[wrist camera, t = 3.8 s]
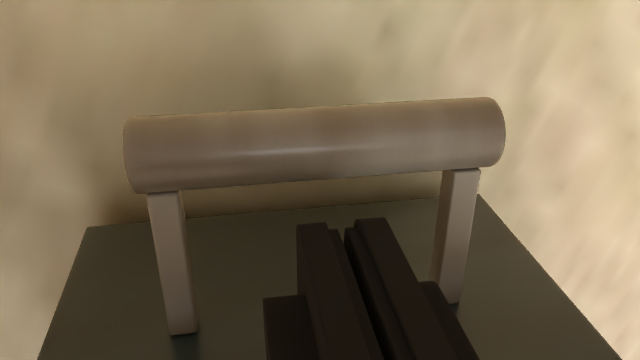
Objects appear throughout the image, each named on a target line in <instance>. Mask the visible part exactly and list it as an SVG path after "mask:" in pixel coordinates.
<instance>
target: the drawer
mask: <svg viewBox="0 0 640 360" xmlns="http://www.w3.org/2000/svg"><path fill="white" fill-rule="evenodd" d="M504 146H505V122H504V117H503V114H502V111H501V109H500V107H499V105H498V104H497V102H496V101H495V100H493V99H491V98H488V97H478V98H461V99H443V100H425V101H407V102H390V103H372V104H354V105H336V106H319V107H301V108H283V109H265V110H248V111H230V112H212V113H195V114H177V115H159V116H141V117H130V118H128V119H126V121H125V124H124V129H123V158H124V166H125V172H126V177H127V180H128V183H129V186H130V188H131V190H132V191H133V192H134V193H137V194H141V193H147V197H146V198H147V204H148V210H149V216H150V222H141V223H129V224H118V225H106V226H94V227H87V229H86V232H85V234H84V237H83V240H82V242H81V245H80V248H79V250H78V253H77V255H76V258H75V261H74V263H73V266H72V269H71V271H70V274H69V277H68V279H67V282H66V285H65V287H64V290H63V292H62V295H61V298H60V300H59V303H58V306H57V308H56V311H55V314H54V316H53V319H52V321H51V324H50V327H49V329H48V332H47V335H46V337H45V340H44V343H43V345H42V348H41V351H40V353H39V356H38V358H37V360H266V348H265V334H264V317H263V298H269V297H279V296H289V295H297V253H296V226H297V224H305V223H317V222H326V223H327V226H328V229H336V228H337V229H338V231H339V233H340V236H341V239H342V242H343V245H344V231H345V228H347V227H354V222H355V220H356V219H364V218H376V217H385V218H386V220H387V221H388V223H389V225H390V227H391V229H392V231H393V233H394V235H395V237H396V239H397V241H398V243H399V245H400V247H401V249H402V251H403V253H404V255H405V257H406V259H407V261H408V262H409V264H410V266H411V268H412V270H413V272H414V274H415V276H416V278H417V280H418V282H424V281H434V282H436V283H437V285H438V286H439V287H440V289H441V291H442V293H443V294H444V296H445V298H446V300H447V301H448V303H449V305H450V307H451V309H452V310H453V312H454V314H455V316H456V318H457V319H458V321H459V323H460V325H461V327H462V328H463V330H464V332H465V334H466V336H467V337H468V339H469V341H470V343H471V344H472V346H473V348H474V350H475V352H476V353H477V355H478V357H479V359H480V360H622V359H621V358H620V357H619V355H618V354H617V353H616V352H615V351H614V350H613V348H612V347H611V346H610V345H609V344H608V343H607V342H606V340H605V339H604V338H603V337H602V336H601V335H600V333H599V332H598V331H597V330H596V329H595V328H594V327H593V325H592V324H591V323H590V322H589V321H588V320H587V318H586V317H585V316H584V315H583V314H582V313H581V312H580V310H579V309H578V308H577V307H576V306H575V305H574V303H573V302H572V301H571V300H570V299H569V298H568V296H567V295H566V294H565V293H564V292H563V291H562V290H561V288H560V287H559V286H558V285H557V284H556V283H555V281H554V280H553V279H552V278H551V277H550V276H549V275H548V273H547V272H546V271H545V270H544V269H543V268H542V266H541V265H540V264H539V263H538V262H537V261H536V259H535V258H534V257H533V256H532V255H531V254H530V253H529V251H528V250H527V249H526V248H525V247H524V246H523V244H522V243H521V242H520V241H519V240H518V239H517V238H516V236H515V235H514V234H513V233H512V232H511V231H510V229H509V228H508V227H507V226H506V225H505V224H504V223H503V221H502V220H501V219H500V218H499V217H498V216H497V214H496V213H495V212H494V211H493V210H492V209H491V207H490V206H489V205H488V204H487V203H486V202H485V201H484V199H483V198H482V197H481V196H480V195H479V194H477V192H478V186H479V180H480V173H481V171H480V169H479V167H490V166H492V165H494V164H496V163H497V162H498V161H499V160H500V158H501V156H502V153H503V150H504ZM440 170H443V172H442V180H441V188H440V196H439V197H436V198H424V199H413V200H401V201H389V202H377V203H365V204H354V205H342V206H330V207H318V208H306V209H295V210H283V211H271V212H259V213H247V214H236V215H224V216H212V217H200V218H188V219H185V212H184V205H183V197H182V190H193V189H206V188H219V187H232V186H245V185H258V184H271V183H284V182H297V181H310V180H323V179H336V178H349V177H362V176H375V175H388V174H401V173H414V172H427V171H440Z"/></svg>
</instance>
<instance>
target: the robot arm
mask: <svg viewBox="0 0 640 360" xmlns="http://www.w3.org/2000/svg"><path fill="white" fill-rule="evenodd" d="M296 253H297V295H289V296H279V297H269V298H263V317H264V334H265V348H266V360H480V359H479V357H478V355H477V353H476V352H475V350H474V348H473V346H472V344H471V343H470V341H469V339H468V337H467V336H466V334H465V332H464V330H463V328H462V327H461V325H460V323H459V321H458V319H457V318H456V316H455V314H454V312H453V310H452V309H451V307H450V305H449V303H448V301H447V300H446V298H445V296H444V294H443V293H442V291H441V289H440V287H439V286H438V285H437V283H436V282H434V281H424V282H418V280H417V278H416V276H415V274H414V272H413V270H412V268H411V266H410V264H409V262H408V261H407V259H406V257H405V255H404V253H403V251H402V249H401V247H400V245H399V243H398V241H397V239H396V237H395V235H394V233H393V231H392V229H391V227H390V225H389V223H388V221H387V220H386V218H385V217H376V218H364V219H356V220H355V222H354V227H347V228H345V231H344V245H343V242H342V239H341V236H340V233H339V231H338V229H337V228H336V229H328V226H327V223H326V222H317V223H305V224H297V226H296Z"/></svg>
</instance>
